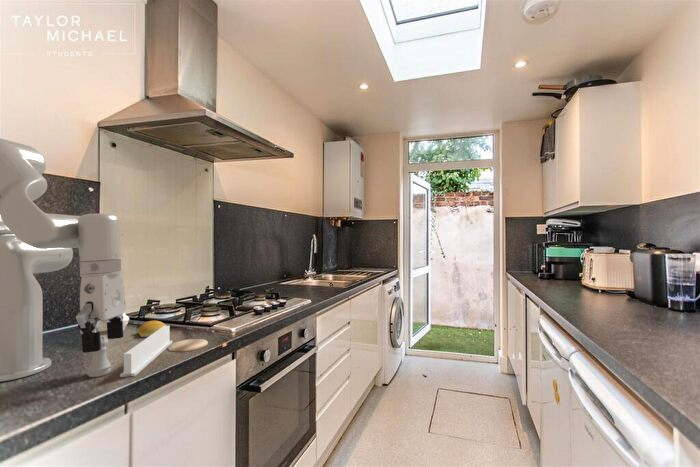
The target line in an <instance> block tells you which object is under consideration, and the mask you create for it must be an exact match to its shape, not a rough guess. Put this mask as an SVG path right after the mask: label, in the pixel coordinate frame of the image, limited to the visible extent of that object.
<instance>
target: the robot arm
mask: <svg viewBox="0 0 700 467" xmlns="http://www.w3.org/2000/svg"><path fill="white" fill-rule="evenodd" d="M46 167H47V162H46V159H45V157H44V156H43V154H42V153H41V152H40V151H39V150H38V149H36V148H35V147H32V146H31V145H30V146H29V145H26V144H22V143H19V142H16V141H12V140H8V139H4V138H1V137H0V196H1V197H0V383H1V382H7V381H13V380H16V379H17V380H18V379H22V378H26V377H28V376H32V375H34V374H35V375H36V374H38V373H40V372H43V371H44V370H47V369H48V368H49V367H51V366H52V359H51V358H49V357H43V325H44V324H43V323H44V322H43V317H44V316H43V313H44V312H43V310H44V309H43V306H44V305H43V301H44V300H43V289H42V287H41V285H40V283H39V282H38V280H37V278H36V277H35V275H34V274H42V273H43V274H44V273H51V272H57V271H60V270H63V269H65V268H66V267H67V266H69V265H70V263H71V262H72V261H73V256H74V252H73V249H74V248H75V249H77V248H78V255H79V260H78V261H79V276H80V277H81V278H80V279H81V280H80V290H79V312H78V313H77V314H76V315H75V319H76V322H77V327H78V329H79V333H80V335H81V347H82V348H81V350H82V353H93V352H95V351H99V350H100V349H101V341H100V339H101V330H99V329H100V325H101V324H102V323H101V322H102V321H104V322H105V321H106V333H107V334H106V337H107V340H114V339H122V338H124V330H123V321H122V320H123V313H124V312H126V310H127V308H126V307H127V306H126V295H125V286H124V281H123V277H122V258H121V256H122V255H121V253H122V252H121V232H120V219H119V217H118V216H117V215H115V214H112V213H86V214H82V215H71V214H60V213H59V214H58V213H47V212H44V211H43V210H42V209H40V207H39V206H37V205H36V203H35V202H33V201H36V200H37V199H39V198H40V197H42V196H43V195H44V194H45V193H46V191H47V189H48V181H47V179H46V178H45V177H44V176H43V175H44V173H45V171H46ZM107 320H109V322H107Z"/></svg>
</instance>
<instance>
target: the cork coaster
mask: <svg viewBox="0 0 700 467" xmlns="http://www.w3.org/2000/svg"><path fill="white" fill-rule="evenodd" d="M208 343H209V342H208V340H206V339H201V338H191V339H183V340H180V341H176V342H172V344H170V345H169V346H168V347H167V348H168V351H170V352H173V353H175V352H176V353H179V352H180V353H181V352H182V353H183V352H192V351H196V350H201V349H203V348H205V347H206V346H208Z"/></svg>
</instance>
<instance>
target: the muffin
mask: <svg viewBox="0 0 700 467" xmlns="http://www.w3.org/2000/svg"><path fill="white" fill-rule="evenodd" d="M125 312H126V311H125ZM125 312H124V313H123V320H122V321H123V331H124V330H125V329H126V327H127V326H128V323H129V321H130V317H129V316H128V315H127V314H126V313H125ZM107 322H109V320H107V321H106V323H107Z"/></svg>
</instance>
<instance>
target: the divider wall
mask: <svg viewBox="0 0 700 467" xmlns="http://www.w3.org/2000/svg"><path fill="white" fill-rule="evenodd" d="M170 328H171V326H170V325H167V326H163V327H162V328H160V329H159V330H158V331H156V332H155V333H153V334H152V335H150V336H149V337H145V339H143V340H142V341H140V342H139V343H137V344H136V345H135V346H133V347H132V348H130V349H129V350H127V351H126V352H124V353H123V371H122V372H121V373H120V374H119V378H128V377H136V376H137V375H138V374H140V372H142V370H144V369H145V368H146V367H147V366H149V364H151V363H152V362H153V361H154V360H155V359H156V358H157V357H158V356H159V355H160V354H161V353H163V352H164V351H165V350H166V349H167V348H168V347H169V346H170V345H171V344H173V340H171V339H170V338H171V336H170V331H171V330H170Z"/></svg>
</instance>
